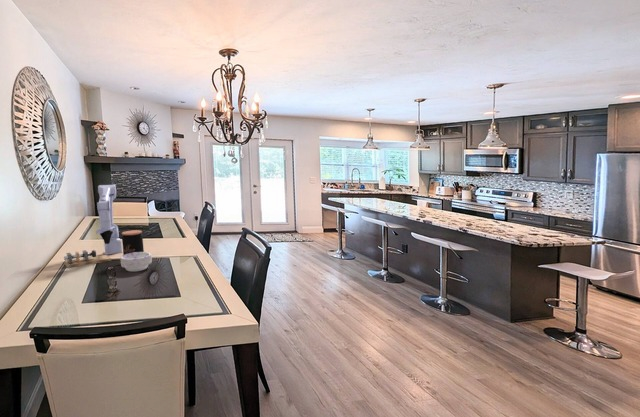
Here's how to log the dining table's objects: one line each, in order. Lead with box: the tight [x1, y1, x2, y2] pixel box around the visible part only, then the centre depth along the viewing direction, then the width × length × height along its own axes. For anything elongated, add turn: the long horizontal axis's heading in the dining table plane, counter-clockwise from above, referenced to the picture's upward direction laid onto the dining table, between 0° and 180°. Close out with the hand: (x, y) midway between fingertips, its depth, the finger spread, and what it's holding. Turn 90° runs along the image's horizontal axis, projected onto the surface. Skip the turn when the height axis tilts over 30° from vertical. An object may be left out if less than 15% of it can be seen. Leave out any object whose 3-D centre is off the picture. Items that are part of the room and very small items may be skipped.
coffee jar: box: [121, 229, 145, 256], centre depth 227 cm, size 11×11×18 cm
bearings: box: [66, 250, 89, 264], centre depth 227 cm, size 10×6×5 cm, turn 130°
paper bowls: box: [119, 251, 153, 273], centre depth 214 cm, size 15×15×8 cm
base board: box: [63, 254, 112, 269], centre depth 230 cm, size 22×12×2 cm, turn 130°
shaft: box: [63, 249, 97, 261], centre depth 228 cm, size 16×4×4 cm, turn 130°
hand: (107, 243), depth 236 cm, fingers closed
